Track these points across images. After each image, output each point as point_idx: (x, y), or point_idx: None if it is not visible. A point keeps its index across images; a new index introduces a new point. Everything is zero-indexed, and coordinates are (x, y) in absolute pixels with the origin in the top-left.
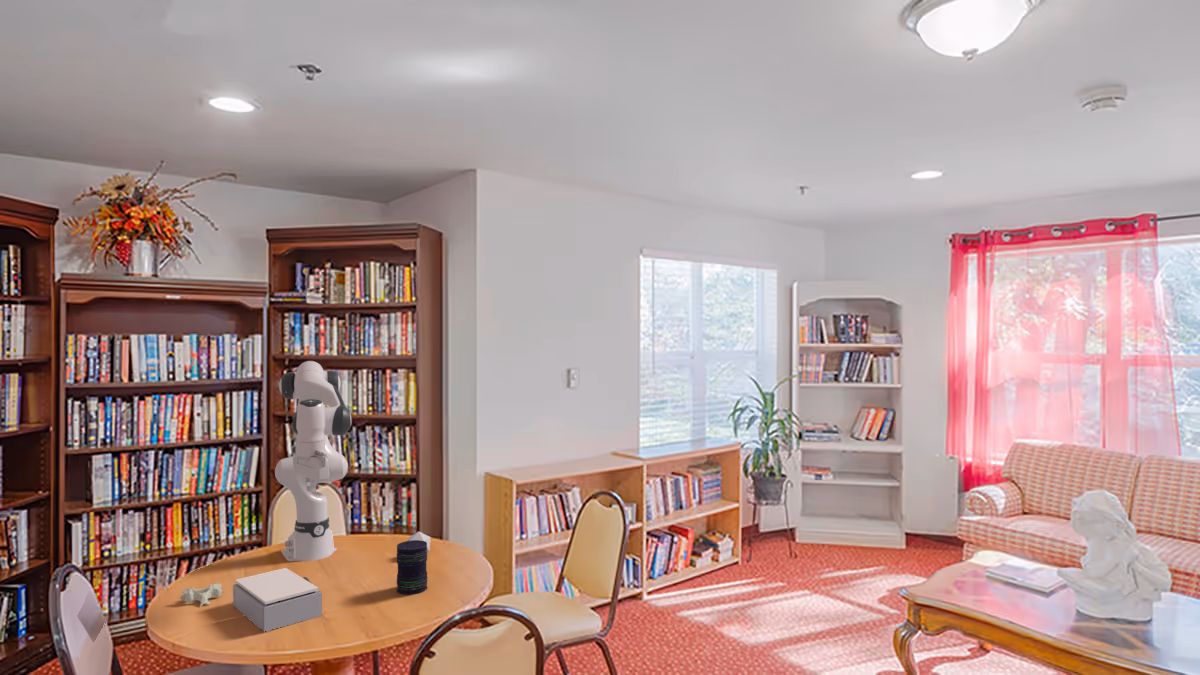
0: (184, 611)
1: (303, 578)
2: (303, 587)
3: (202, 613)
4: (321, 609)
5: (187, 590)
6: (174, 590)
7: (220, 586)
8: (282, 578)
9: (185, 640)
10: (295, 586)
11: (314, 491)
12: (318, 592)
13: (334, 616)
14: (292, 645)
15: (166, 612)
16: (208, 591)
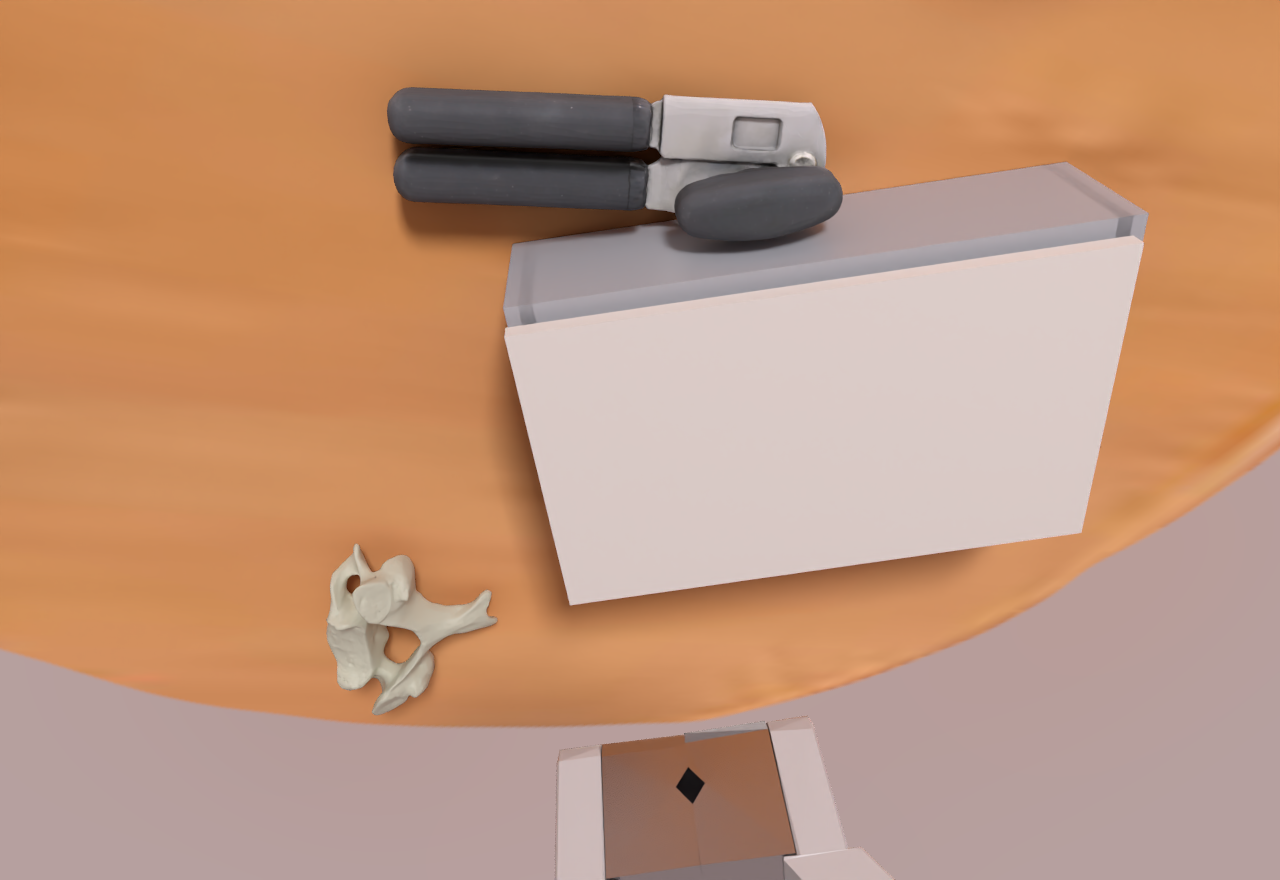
0: (489, 657)
1: (425, 137)
2: (1046, 325)
3: (566, 609)
4: (1085, 176)
5: (388, 702)
6: (139, 677)
7: (377, 585)
8: (748, 397)
9: (836, 664)
10: (979, 362)
11: (808, 732)
12: (1132, 233)
13: (1146, 98)
14: (1275, 373)
15: (457, 703)
16: (413, 625)
